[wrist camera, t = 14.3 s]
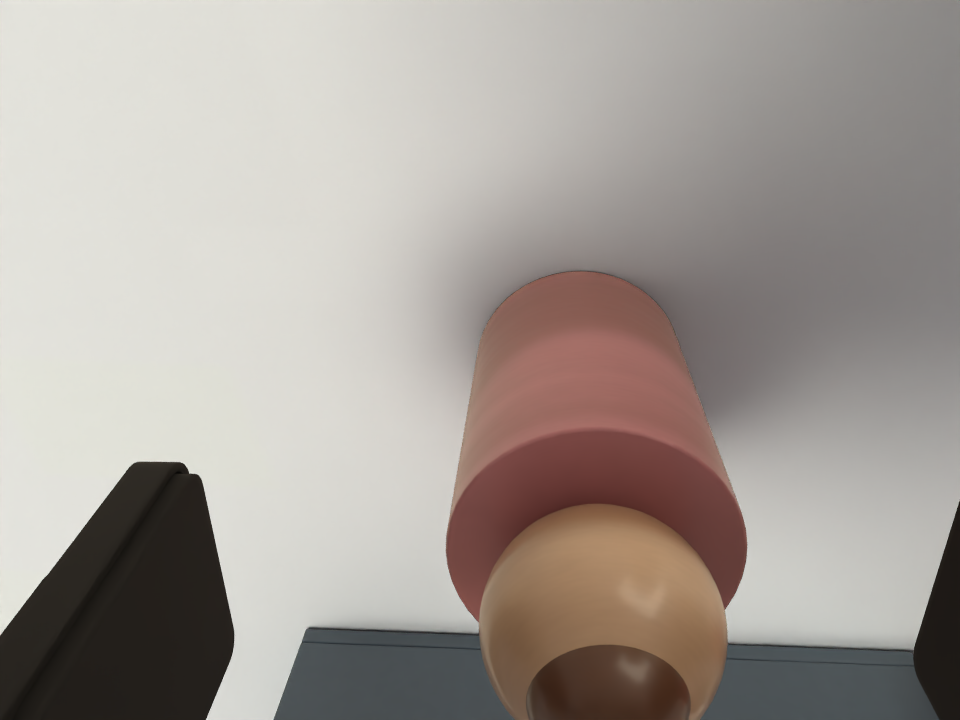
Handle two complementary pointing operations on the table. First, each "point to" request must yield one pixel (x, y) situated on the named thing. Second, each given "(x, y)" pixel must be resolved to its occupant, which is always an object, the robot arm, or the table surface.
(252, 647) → the table surface
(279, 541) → the table surface
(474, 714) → the tray
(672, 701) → the peg doll
